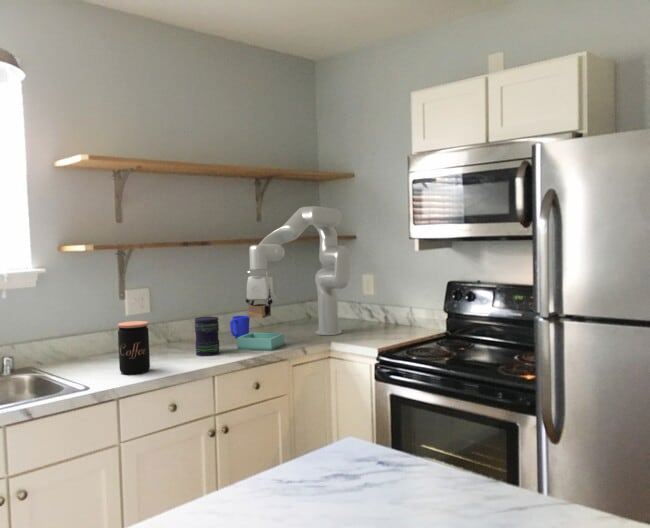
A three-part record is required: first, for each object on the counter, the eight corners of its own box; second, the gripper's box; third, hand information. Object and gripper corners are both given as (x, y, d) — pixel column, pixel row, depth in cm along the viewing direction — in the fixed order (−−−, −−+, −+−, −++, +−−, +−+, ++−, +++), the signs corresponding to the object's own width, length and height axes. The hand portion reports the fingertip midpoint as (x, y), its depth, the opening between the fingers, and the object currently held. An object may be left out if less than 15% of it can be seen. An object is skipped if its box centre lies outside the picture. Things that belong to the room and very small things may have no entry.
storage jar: (192, 353, 255) (191, 318, 254) (214, 350, 260) (213, 315, 259) (200, 357, 246) (198, 320, 245) (223, 354, 251) (222, 318, 250)
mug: (224, 339, 285) (223, 318, 284) (239, 335, 295) (238, 315, 295) (238, 341, 281) (238, 319, 280) (253, 336, 292) (252, 315, 291)
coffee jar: (116, 375, 218) (113, 325, 217) (124, 369, 228) (122, 321, 227) (146, 374, 218) (144, 324, 217) (153, 367, 229) (151, 320, 228)
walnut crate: (257, 315, 269) (257, 303, 269) (271, 315, 267) (270, 304, 267) (248, 317, 260) (248, 306, 260) (262, 318, 258) (261, 306, 258)
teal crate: (251, 343, 274) (251, 332, 273) (284, 344, 268) (284, 333, 268) (237, 349, 261) (236, 337, 260) (271, 350, 255) (271, 339, 255)
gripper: (236, 274, 262) (238, 315, 263) (273, 274, 256) (274, 316, 257) (244, 272, 269) (245, 313, 270) (280, 272, 263) (281, 313, 264)
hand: (259, 314), depth 264 cm, fingers closed on walnut crate, 6 cm apart
